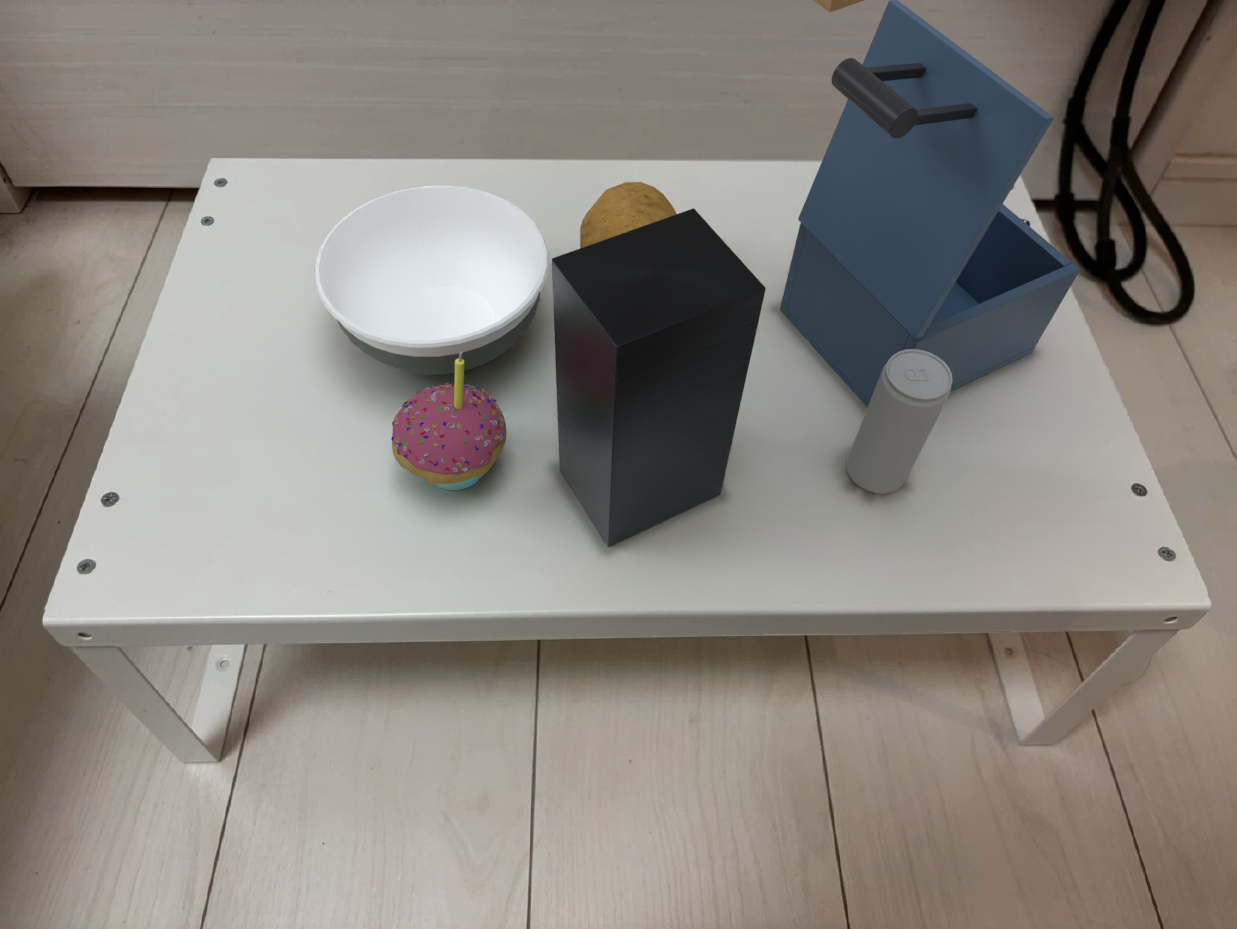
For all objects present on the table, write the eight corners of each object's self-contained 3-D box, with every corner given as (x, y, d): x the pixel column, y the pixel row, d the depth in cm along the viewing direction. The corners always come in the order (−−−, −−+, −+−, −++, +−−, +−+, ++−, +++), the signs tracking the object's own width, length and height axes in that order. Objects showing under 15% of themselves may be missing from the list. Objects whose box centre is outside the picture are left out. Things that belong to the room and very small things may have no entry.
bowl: (355, 436, 74) (333, 368, 67) (320, 279, 84) (297, 206, 77) (578, 383, 78) (578, 313, 71) (519, 239, 88) (514, 166, 81)
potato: (572, 259, 73) (691, 251, 73) (574, 160, 82) (680, 153, 81) (584, 345, 81) (691, 338, 80) (584, 247, 89) (682, 240, 89)
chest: (922, 250, 89) (956, 164, 81) (1031, 353, 82) (1081, 269, 74) (779, 309, 84) (800, 223, 76) (882, 424, 77) (917, 342, 68)
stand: (721, 495, 72) (766, 287, 54) (608, 547, 69) (616, 347, 51) (668, 422, 76) (693, 207, 58) (559, 469, 73) (551, 258, 55)
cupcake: (467, 407, 76) (450, 302, 66) (533, 471, 73) (525, 370, 63) (379, 463, 73) (347, 361, 63) (444, 533, 69) (421, 437, 59)
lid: (897, -1, 63) (804, 3, 59) (1055, 117, 55) (960, 130, 51) (804, 218, 76) (723, 232, 72) (922, 336, 68) (839, 360, 64)
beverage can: (910, 498, 72) (961, 401, 63) (848, 497, 72) (890, 399, 62) (900, 448, 75) (947, 348, 65) (840, 447, 75) (879, 346, 65)
